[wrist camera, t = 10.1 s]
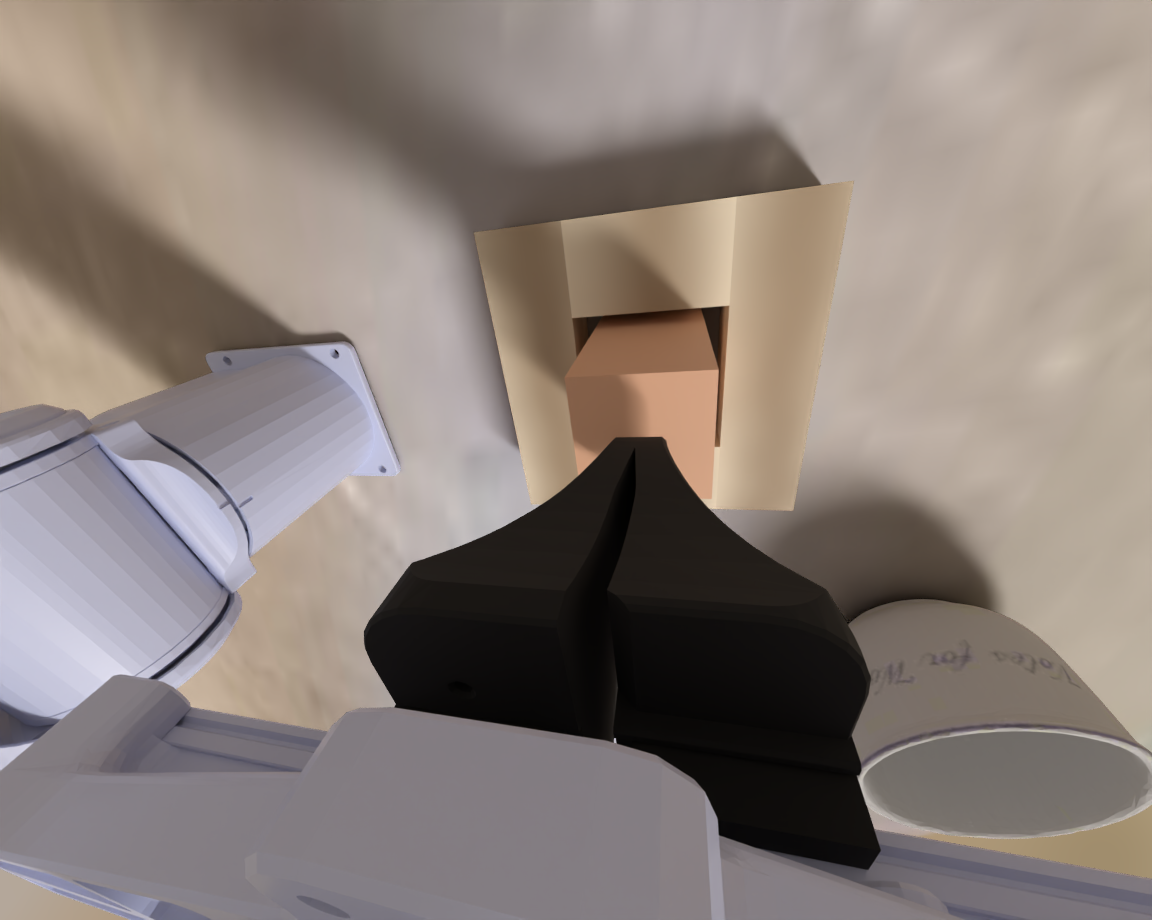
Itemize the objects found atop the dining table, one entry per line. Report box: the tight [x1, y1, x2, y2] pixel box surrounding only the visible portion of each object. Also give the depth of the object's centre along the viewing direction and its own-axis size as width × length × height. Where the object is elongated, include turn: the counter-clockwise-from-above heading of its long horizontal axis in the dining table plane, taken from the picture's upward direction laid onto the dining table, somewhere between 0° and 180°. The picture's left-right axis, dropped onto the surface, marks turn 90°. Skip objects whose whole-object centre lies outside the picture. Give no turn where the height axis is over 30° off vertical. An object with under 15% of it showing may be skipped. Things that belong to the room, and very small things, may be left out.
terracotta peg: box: [564, 308, 719, 499], centre depth 15 cm, size 4×4×8 cm
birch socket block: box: [474, 181, 854, 511], centre depth 18 cm, size 12×12×3 cm
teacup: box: [848, 599, 1152, 839], centre depth 22 cm, size 14×11×8 cm
